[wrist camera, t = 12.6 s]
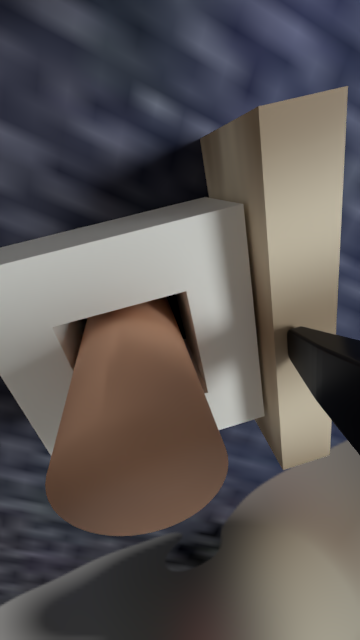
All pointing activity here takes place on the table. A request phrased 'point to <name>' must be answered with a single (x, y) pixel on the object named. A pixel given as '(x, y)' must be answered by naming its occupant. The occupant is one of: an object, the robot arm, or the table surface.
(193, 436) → the dowel
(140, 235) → the hole block
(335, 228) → the backstop wall
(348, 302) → the table surface
